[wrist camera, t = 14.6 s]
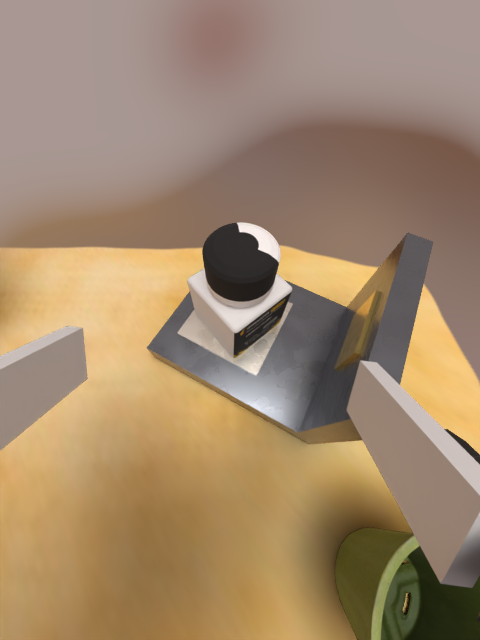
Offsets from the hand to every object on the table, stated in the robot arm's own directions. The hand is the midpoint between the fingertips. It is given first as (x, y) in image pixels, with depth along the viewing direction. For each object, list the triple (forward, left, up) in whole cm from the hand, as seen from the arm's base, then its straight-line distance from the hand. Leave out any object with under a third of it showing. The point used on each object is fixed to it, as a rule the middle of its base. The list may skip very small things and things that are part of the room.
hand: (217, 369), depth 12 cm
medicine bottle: (-4, +10, -14) cm, 18 cm away
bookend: (-1, +10, -18) cm, 20 cm away
